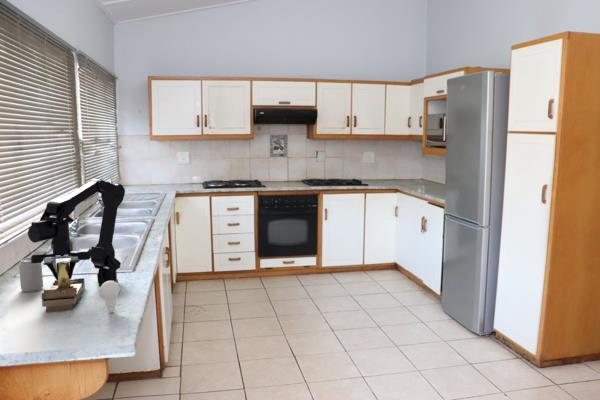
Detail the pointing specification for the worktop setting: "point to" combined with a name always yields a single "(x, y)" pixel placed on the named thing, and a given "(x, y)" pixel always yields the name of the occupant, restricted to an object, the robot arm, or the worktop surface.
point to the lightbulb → (110, 294)
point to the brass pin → (63, 275)
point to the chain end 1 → (61, 298)
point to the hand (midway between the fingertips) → (64, 279)
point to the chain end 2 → (75, 281)
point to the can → (30, 275)
